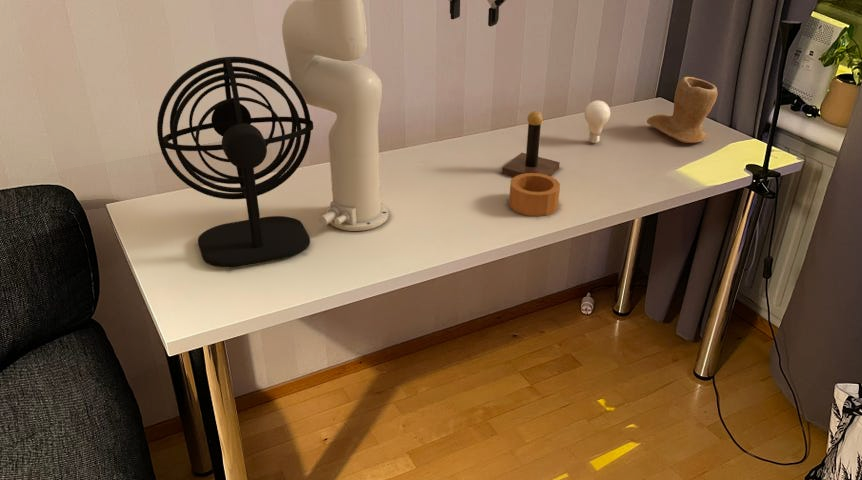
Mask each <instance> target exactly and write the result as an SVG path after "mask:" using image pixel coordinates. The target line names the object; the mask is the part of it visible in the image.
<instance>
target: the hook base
mask: <svg viewBox="0 0 862 480" xmlns="http://www.w3.org/2000/svg"><path fill="white" fill-rule="evenodd" d="M525 162H526V152H521V153H518V155H516V156H515V157H514V158H513V159H511V160H510V161H509V162H507V163H506V164H505V165H503V166H502V167H501V174H503V175H507V176H510V177H512V178H514V177H515V176H517V175H521V174H526V173H538V174H544V175H548V176H551V177H552V175H553V174H554V173H556V172H557V171H559V169H560V161H556V160H552V159H549V158H544V157H541V156H538V164H537V166H536V167H528V166H526V165H525Z"/></svg>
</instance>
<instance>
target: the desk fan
mask: <svg viewBox="0 0 862 480" xmlns="http://www.w3.org/2000/svg"><path fill="white" fill-rule="evenodd" d="M233 64H244V65H251V66H255V67H259V68H262V69H264V70H267V71H269V72H271V73H272V74H274V75H276V76H277V77H279V78H280V79H282V80H283V81H284V82H285V83H286V84H287V85H288V86H289V87H290V88H291V89H292V90H293V92H294V94H295V93H296V94H295V95H296V97H297V99H298V100H299V103H300V106H301V109H302V112H303V116H304V117H300V116H299V113H298V110H297V108H296V106H295V104H294V103H293V101H292V100H291V98H290V97H289V96H288V94H287V93H286V92H285V90H284V89H283V87H281V85H280V84H279V83H277V82H276V81H275V80H274V79H273V78H272V77H270V76H268V75H267V74H265V73H263V72H261V71H259V70H256V69H254V68H250V67H246V66H235V65H233ZM220 65H222V67H221V66H220ZM215 66H220V67H216V68H213V69H210V70H206V69H209V68H212V67H215ZM204 70H206V71H204ZM202 71H204V72H202ZM200 72H202V73H200ZM198 73H200V74H198ZM222 73H223V74H222ZM197 74H198V75H197ZM217 74H218V75H217ZM219 74H220V75H219ZM195 75H197V76H196V77H194V78H193V76H195ZM214 75H215V76H214ZM211 76H213V77H211ZM190 78H193V79H192V80H191V81H189V82H188V83H187V84H186V85H185V86H184V87H183V88H182V89H181V91H180V92H179V94H178V95H177V97H176V98H175V100H174V102H173V105H172V108H171V112H170V117H169V132H170V133H167V134H166V135H164V120H165V115H166V112H167V109H168V106H169V103H170V101H171V99H172V98H173V96H174V95H175V93H177V91H178V90H179V88H180V87H181V86H182V85H183V84H184V83H186V82H187V81H188V80H189V79H190ZM207 78H208V79H207ZM205 79H206V80H205ZM237 79H245V80H250V81H256V82H259V83H261V84H264V85H266V86H268V87H270V88H271V89H273V90H275V91H276V92H277V93H278V94H279V95H281V97H283V99H284V100H285V102H286V104H287V106H288V109H289V112H290V116H278V114H277V113H276V111H275V110H274V109H273V106H272V105H271V103H270V101H269V100H268V98H267V97H266V96H265V95H264V94H263V93H262V92H261V91H259V90H258V89H257V88H255V87H253V86H251V85H249V84H245V83H242V82H237ZM203 80H204V81H203ZM221 81H224V82H222V83H218V82H221ZM200 82H201V83H200ZM198 83H199V84H198ZM215 83H218V84H215ZM197 84H198V85H197ZM213 84H214V85H213ZM211 85H212V86H211ZM208 86H211V87H209V88H207V89H206V90H204V91H203V92H202V93H201V94H200V95H199V96H198V97H197V98H196V99H195V101H194V103H193V104H192V106H191V109H190V111H189V117H188V126H189V127H186V128H181V129H178V127H179V122H180V119H181V117H182V113H183V111H184V110H185V108H186V107H187V105H188V103H189V102H190V101H191V100H192V99H193V97H195V96H196V95H197V94H198V93H199V92H201V90H203V89H205V88H206V87H208ZM238 87H241V88H245V89H247V90H250V91H252V92H254V93H256V94H257V95H258V96H260V97H261V98H262V99H263V100H264V101H265V102H263V101H261V100H258V99H256V98H251V97H245V96H239V91H238V90H239V89H238ZM221 88H224V93H225V99H223V100H220V101H219V102H217V103H215V104H213V105H212V106H211V107H210V108H208V109H207V110H206V111H205V112H204V114H203V115H202V116H201V118H200V119H199V121H198V124H197V125H194V126H193V118H194V115H195V111H196V109H197V106H198V105H199V103H200V102H201V101H202V99H204V97H205V96H207V95H208V94H209V93H211V92H213V91H216V90H217V89H221ZM241 102H250V103H254V104H257V105H259V106H261V107H263V108H265V109H267V111H269V112H270V114H271V116H260V117H259V116H258V117H252V115H251V113H250V111H249V109H248V108H247V106H245V105H244V104H242V103H241ZM211 113H212V114H211ZM210 114H211V122H208V123H204V122H205V121H206V119H207V118H208V116H209V115H210ZM257 123H271V128H270V132H269V135H268V137H267V138H264V136H263V134H262V132H261V131H260V129H258V128H257V127H256V126H255V125H253V124H257ZM276 123H278V125H279V127H280V130H281V131H280V133H281V135H278V136H274V133H275V130H276ZM283 123H291V132H290V133H286V132H285V128H284V125H283ZM302 125H304V126H305V127H304V128H302ZM209 129H213V130H214V131H215V132H216V134H218V135H219V136H221V144H204V145H201V144H200V132H201V131H204V130H209ZM313 130H314V121H313V120H312V119H311V115H310V111H309V107H308V104H306V102H305V100H304V98H303V96H302V94H301V93H300V91H299V90H298V88H297V87H296V86H295V85H294V83H293V82H292V81H291V78H289V77H288V76H287V75H286V74H285V73H283V72H282V71H281V70H280V69H278V68H276V67H275V66H273V65H271V64H269V63H267V62H264V61H262V60H259V59H255V58H251V57H245V56H222V57H217V58H213V59H210V60H205V61H204V62H201V63H198V64H196V65H195V66H193V67H191V68H190V69H188V70H187V71H186V72H184V73H183V74H181V76H180V77H178V78H177V79H176V80H175V81H174V82H173V84H172V85H171V86H170V88H169V89H168V90H167V92H166V93H165V96H164V97H163V99H162V102H161V104H160V107H159V111H158V115H157V121H156V134H157V140H158V144H159V145H158V146H159V147H160V151H161V154H162V156H163V157H164V160H165V162H166V164H167V165H168V167H169V169H170V170H171V171H172V172H173V174H174V175H175V176H176V177H177V178H178V179H179V180H180V181H182V182H183V183H184V185H187V186H188V187H190V188H191V189H193V190H195V191H197V192H199V193H201V194H203V195H206V196H209V197H213V198H217V199H223V200H245V203H246V210H247V211H246V212H247V218H248V219H245V220H239V221H232V222H227V223H222V224H219V225H216V226H213V227H211V228H208V229H206V230H204V231H202V233H200V235H199V236H198V238H197V243H198V248H199V250H200V254H201V257H202V260H203V262H205V263H206V264H207V265H210V266H213V267H216V268H225V269H226V268H227V269H229V268H230V269H231V268H232V269H233V268H240V267H241V268H242V267H247V266H253V265H258V264H263V263H269V262H274V261H279V260H284V259H288V258H291V257H295V256H297V255H299V254H301V253H303V252H304V251H305V250H307V249H308V248H309V246H310V244H311V237H310V235H309V233H308V231H307V230H306V228H305V225H304V224H303V223H302V221H301V220H299V219H297V218H295V217H291V216H284V215H272V216H262V217H261V214H260V209H259V207H260V206H259V200H258V196H261V195H262V196H263V195H264V194H267V193H269V192H271V191H272V190H274V189H277V188H278V187H279V186H281V185H282V184H283V183H285V182H286V181H287V180H289V179H290V177H292V176H293V174H295V172H296V171H297V169H298V168H299V167H300V166H301V164H302V163H303V160H304V158H305V156H306V154H307V151H308V149H309V145H310V142H311V135H312V131H313ZM187 134H190V135H191V137H192V140H193V142H194V143H195V144H194V145H191V144H190V145H189V144H179V143H178V137H181V136H184V135H187ZM302 136H304V138H303V141H302ZM170 141H172V142H170ZM286 141H288V143H287V145H286ZM279 142H281V143H280V147H279V150H278V153H277V155H276V157H275V158H274V159H273V160H272V161H271V163H270V164H269V165H267V166H266V167H264V168H263V169H262V170H260V171H258V172H256V173H255V168H257V167H259V166H260V165H261V164H262V163H263V162H264V161H265V159H266V158H267V153H268V145H270V144H274V143H275V144H276V143H279ZM301 142H302V145H301ZM285 145H286V147H285ZM293 146H294V147H293ZM300 147H301V148H300ZM292 148H293V149H292ZM167 149H168V150H172V151H174V152H175V154H176V156H177V158H178V160H179V162H180V164H181V166H182V167H183V168H184V169H185V171H186V172H187V173H188V174H189V175H191V177H192V178H194V179H195V180H196V181H197V182H198V183H200V184H201V185H204V186H206V187H208V188H206V187H204V186H201V185H200V184H198V183H196V182H194V181H192V180H191V179H190V178H188V177H187V176H186V175H185V174H184V173H182V172H181V171H180V169H178V167H177V166H176V165H175V164H174V162H173V160H172V159H171V157H170V155H169V153H168V151H167ZM291 150H292V152H291ZM299 150H300V151H299ZM212 151H223V153H224V155H225V158H224V157H220V156H217V155H215V154H212V153H211V152H212ZM183 152H197V154H198V156H199V158H200V160H201V161H202V163H203V164H204V165H205V166H206V168H208V169H209V170H210V172H212V173H214V174H216V175H217V176H215V175H211V174H209V173H207V172H205V171H203V170H201V169H199V168H198V167H196V166H195V165H194V164H193V163H192V162H191V161H189V160H188V159H187V157H186V155H184V154H183ZM202 152H203V153H204V154H205V155H206V156H208V157H210V158H211V159H213V160H216V161H219V162H224V163H230V164H231V165H233V166H234V167H236V173H237V176H236V175H230V174H226V173H223V172H221V171H219V170H217V169H215V168H214V167H213V166H212V165H211V164H210V163H209V162H208V161H207V160H206V159H205V157H204V156H203V154H202ZM290 152H291V154H290ZM289 154H290V156H289V158H288V160H287V161H286V162H285V160H286V158H287V157H288V155H289ZM283 162H285V164H284V165H283V166H282V167H281V168H280V169H279V170H278V171H277V172H276V173H275V174H273V175H271V176H270V177H269V178H267V179H265V180H263V181H261V182H257V183H256V181H257V180H260V179H262V178H264V177H266V176H268V175H269V174H271V173H272V172H274V171H275V170H276V169H278V167H279V166H280V165H282V163H283ZM218 176H220V177H218ZM211 181H212V182H211ZM214 182H215V183H214ZM216 183H218V184H216ZM220 184H224V185H225V184H227V185H239V187H237V186H236V187H233V186H232V187H231V186H224V185H220ZM212 189H213V190H212Z"/></svg>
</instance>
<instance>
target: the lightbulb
mask: <svg viewBox="0 0 862 480" xmlns="http://www.w3.org/2000/svg"><path fill="white" fill-rule="evenodd" d="M611 115H612V114H611V108H610V106H609V104H607V102H605V101H603V100H599V99H597V100H593V101H590V102H589V103H588V104H587V105H586V107H585V109H584V118H585V121H586V123H587V125H588V131H589V136H588V141H589V142H590V143H591V144H597V143H599V142H600V139H601V134H602V131H603V129H604V127H605V125H606V124H607V123H608V121H609V120H610V118H611Z"/></svg>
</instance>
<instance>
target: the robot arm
mask: <svg viewBox="0 0 862 480" xmlns="http://www.w3.org/2000/svg"><path fill="white" fill-rule="evenodd" d="M448 1H449V15H450V20H455V19H458V18H460V16H461V0H448ZM506 1H507V0H487V2H488V4H489V5H490V7H489V8H488V15H487V16H488V17H487V27H490V28H491V27H494V26H495V25H497V24H498V22H499V18H500V7H501V6H502V5H503V4H504V3H505V2H506ZM367 31H368V30H367V23H366V14H365V5H364V0H294V1H292V2H291V3H290V5H289V6H288V7H287V8H286V10H285V13H284V15H283V18H282V25H281V35H282V42H283V47H284V51H285V52H284V53H285V56H286V57H285V58H286V61H287V66H288V72H289V77H290V80H291V81H292V82H293V83H294V85H295V86H296V87H297V88H298V90H299V91H300V93H301V94H302V96H303V98H304V100H305V102H306V105H308V106H312V107H316V108H319V109H323V110H326V111H329V112H332V113H335V115H336V119H335V121H334V122H333V124H332V125H331V128H330V130H329V132H328V148H329V151H328V152H329V165H330V166H329V167H330V177H331V178H330V181H331V195H332V201H330V203H329V204H330V205H329V206H328V208H327V209H326V211H325V213H324V214H322V215H320V216H319V217H318V221H319V223H320V224H321V225H322V226H327V225H328V224H329V225H331V226H332V227H334V228H336V229H339V230H344V231H350V232H353V231H354V232H356V231H357V232H361V231H368V230H372V229H375V228H378V227H380V226H382V225H383V224H384V223H385V222H387V220H388V218H389V208H388V207H387V206H386V205H385V204H384V203H383V202H381V181H380V180H381V179H380V149H379V147H380V145H379V117H380V110H381V105H382V104H381V103H382V97H383V84H382V81H381V79H380V77H379V76H378V74H377V73H376V72H374V71H373V70H372V69H370V68H369V67H366V66H365V65H361V64H357V63H353V61H357V60H359V59H361V58H362V57H363V55H365V53H366V51H367V46H368V32H367ZM294 94H295V95H296V93H295V92H294Z"/></svg>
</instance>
